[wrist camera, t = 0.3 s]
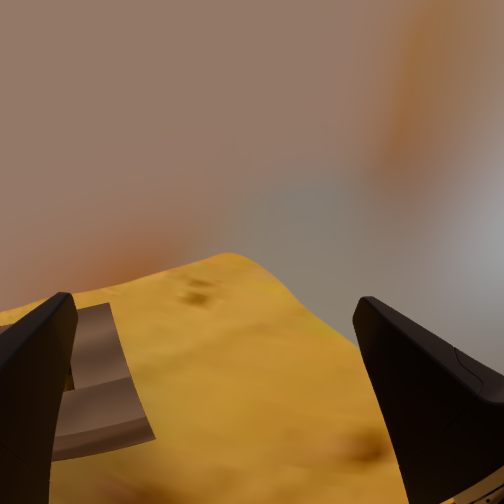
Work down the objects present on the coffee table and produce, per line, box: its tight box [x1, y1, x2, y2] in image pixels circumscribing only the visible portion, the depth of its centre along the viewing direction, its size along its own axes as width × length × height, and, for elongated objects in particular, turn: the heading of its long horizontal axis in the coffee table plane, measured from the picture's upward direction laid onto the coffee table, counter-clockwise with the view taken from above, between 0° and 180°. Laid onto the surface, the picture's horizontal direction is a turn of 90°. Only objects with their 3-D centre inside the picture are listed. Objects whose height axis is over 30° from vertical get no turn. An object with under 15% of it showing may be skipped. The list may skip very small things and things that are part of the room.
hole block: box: [0, 303, 156, 462], centre depth 18 cm, size 12×14×4 cm
